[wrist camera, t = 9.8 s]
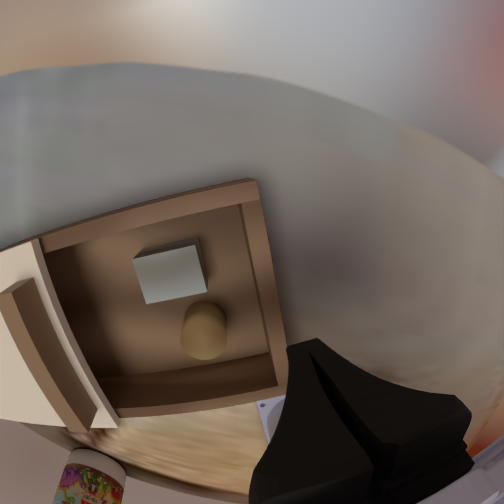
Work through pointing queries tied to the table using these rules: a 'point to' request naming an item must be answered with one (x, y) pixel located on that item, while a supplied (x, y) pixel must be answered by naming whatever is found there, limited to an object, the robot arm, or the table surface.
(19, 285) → the lid
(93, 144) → the table surface
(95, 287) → the storage box
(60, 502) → the milk bottle
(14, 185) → the table surface
